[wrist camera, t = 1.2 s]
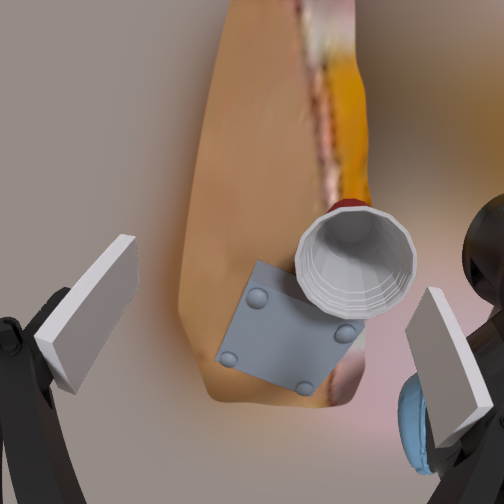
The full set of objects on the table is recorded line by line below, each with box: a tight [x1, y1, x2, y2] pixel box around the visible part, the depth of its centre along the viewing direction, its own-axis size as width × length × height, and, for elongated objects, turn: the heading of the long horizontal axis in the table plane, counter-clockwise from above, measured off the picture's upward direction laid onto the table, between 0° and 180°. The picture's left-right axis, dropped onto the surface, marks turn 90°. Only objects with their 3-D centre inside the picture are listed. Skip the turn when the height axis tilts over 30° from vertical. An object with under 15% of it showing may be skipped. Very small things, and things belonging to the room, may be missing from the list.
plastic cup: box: [295, 199, 417, 319], centre depth 32 cm, size 11×11×12 cm
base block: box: [215, 260, 365, 396], centre depth 42 cm, size 15×15×6 cm
